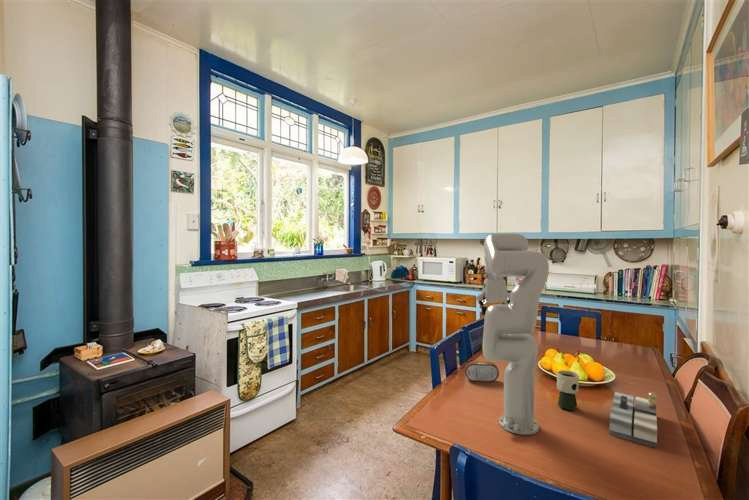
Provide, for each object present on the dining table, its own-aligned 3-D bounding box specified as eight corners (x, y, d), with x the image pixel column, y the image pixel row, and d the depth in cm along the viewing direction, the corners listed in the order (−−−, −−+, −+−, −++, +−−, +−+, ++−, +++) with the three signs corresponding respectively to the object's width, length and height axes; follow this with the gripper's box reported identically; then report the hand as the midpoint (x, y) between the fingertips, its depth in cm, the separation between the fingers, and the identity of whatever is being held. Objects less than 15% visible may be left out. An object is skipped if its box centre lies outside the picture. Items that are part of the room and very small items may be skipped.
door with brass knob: (656, 413, 115) (657, 394, 114) (635, 408, 118) (635, 390, 118) (656, 411, 117) (657, 392, 116) (635, 406, 120) (635, 387, 120)
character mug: (572, 416, 125) (573, 380, 125) (551, 409, 131) (552, 374, 130) (582, 406, 133) (583, 372, 132) (562, 400, 138) (562, 367, 138)
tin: (497, 380, 158) (497, 361, 158) (499, 383, 155) (499, 364, 155) (463, 379, 160) (463, 360, 159) (464, 381, 156) (464, 363, 156)
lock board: (656, 447, 106) (657, 420, 106) (609, 434, 114) (609, 409, 113) (655, 416, 125) (655, 392, 125) (614, 406, 133) (615, 384, 132)
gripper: (480, 277, 151) (480, 317, 152) (517, 277, 154) (516, 315, 155) (472, 276, 159) (472, 314, 159) (507, 275, 162) (507, 312, 162)
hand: (494, 314), depth 157 cm, fingers open, 9 cm apart
